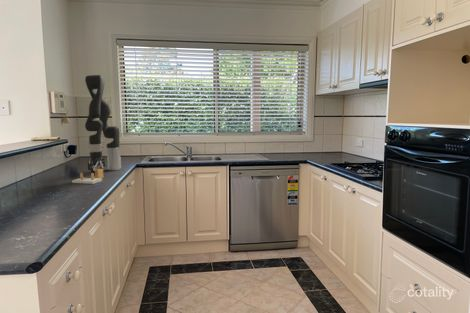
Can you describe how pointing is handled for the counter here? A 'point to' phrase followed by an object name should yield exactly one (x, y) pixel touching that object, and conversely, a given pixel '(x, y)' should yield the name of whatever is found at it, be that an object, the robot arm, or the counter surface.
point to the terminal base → (87, 179)
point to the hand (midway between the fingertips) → (97, 175)
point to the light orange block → (98, 173)
